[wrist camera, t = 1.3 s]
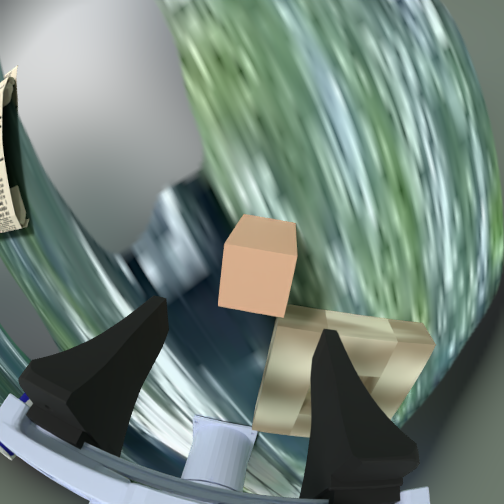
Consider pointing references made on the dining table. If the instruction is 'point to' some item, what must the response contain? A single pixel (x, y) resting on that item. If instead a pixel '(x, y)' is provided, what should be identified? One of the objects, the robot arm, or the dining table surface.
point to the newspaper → (4, 198)
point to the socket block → (359, 351)
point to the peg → (258, 266)
